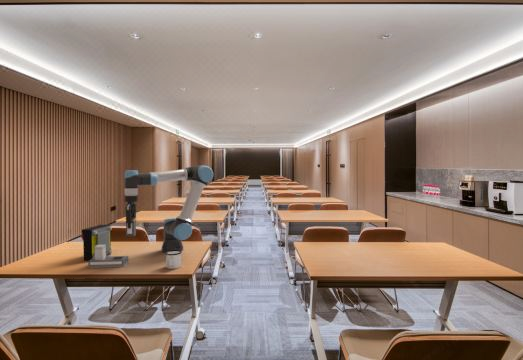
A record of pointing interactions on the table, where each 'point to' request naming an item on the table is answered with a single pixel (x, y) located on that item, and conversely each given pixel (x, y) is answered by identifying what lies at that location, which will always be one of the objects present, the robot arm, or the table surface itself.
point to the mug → (173, 259)
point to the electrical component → (96, 240)
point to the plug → (132, 227)
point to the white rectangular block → (100, 252)
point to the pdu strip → (109, 262)
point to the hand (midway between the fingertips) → (131, 232)
